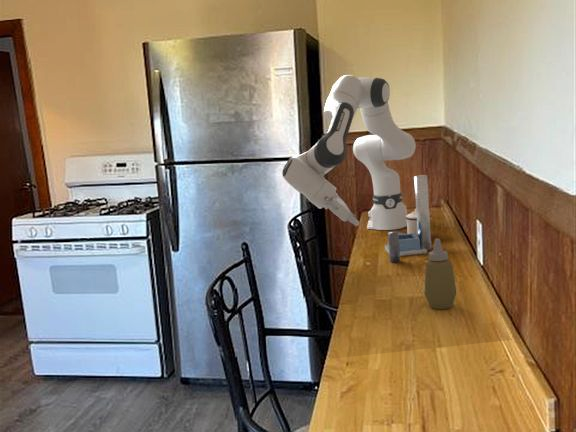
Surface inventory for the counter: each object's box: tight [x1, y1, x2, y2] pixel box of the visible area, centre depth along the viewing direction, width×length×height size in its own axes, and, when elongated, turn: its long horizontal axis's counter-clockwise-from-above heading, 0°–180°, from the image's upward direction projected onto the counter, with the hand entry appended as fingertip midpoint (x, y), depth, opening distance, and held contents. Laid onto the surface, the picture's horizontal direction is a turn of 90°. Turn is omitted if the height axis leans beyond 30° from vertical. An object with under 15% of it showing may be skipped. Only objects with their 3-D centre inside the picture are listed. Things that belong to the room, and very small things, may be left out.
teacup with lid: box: [406, 208, 432, 236], centre depth 227 cm, size 12×9×12 cm
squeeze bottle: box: [424, 237, 457, 310], centre depth 153 cm, size 8×8×18 cm
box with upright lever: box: [384, 174, 432, 257], centre depth 212 cm, size 18×15×26 cm
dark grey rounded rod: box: [387, 230, 401, 264], centre depth 199 cm, size 3×3×10 cm
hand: (356, 221), depth 197 cm, fingers open, 8 cm apart
